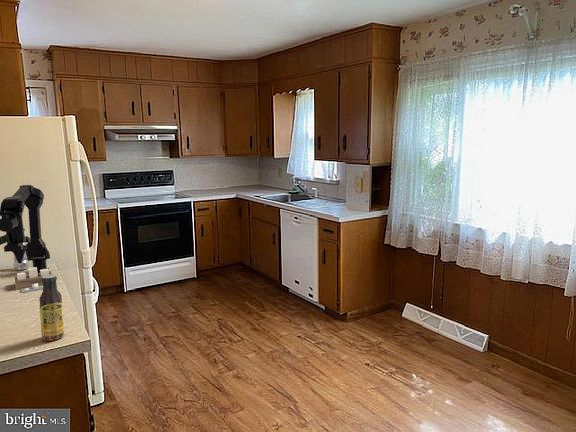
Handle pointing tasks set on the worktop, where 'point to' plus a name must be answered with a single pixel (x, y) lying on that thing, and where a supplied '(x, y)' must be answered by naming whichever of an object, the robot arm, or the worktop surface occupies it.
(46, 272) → the button
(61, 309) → the sauce bottle
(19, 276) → the button
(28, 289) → the card
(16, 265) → the plastic bottle
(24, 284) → the board
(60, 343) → the worktop surface
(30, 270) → the button middle
